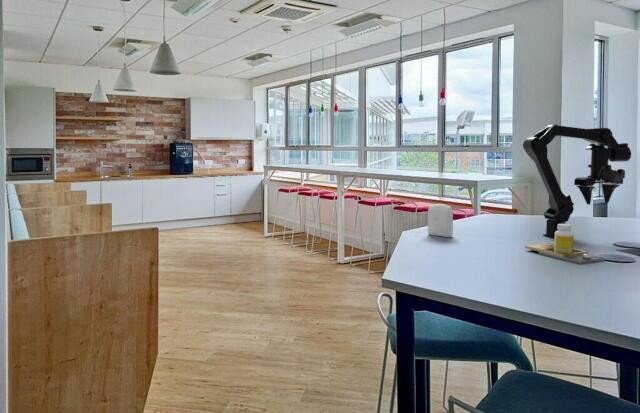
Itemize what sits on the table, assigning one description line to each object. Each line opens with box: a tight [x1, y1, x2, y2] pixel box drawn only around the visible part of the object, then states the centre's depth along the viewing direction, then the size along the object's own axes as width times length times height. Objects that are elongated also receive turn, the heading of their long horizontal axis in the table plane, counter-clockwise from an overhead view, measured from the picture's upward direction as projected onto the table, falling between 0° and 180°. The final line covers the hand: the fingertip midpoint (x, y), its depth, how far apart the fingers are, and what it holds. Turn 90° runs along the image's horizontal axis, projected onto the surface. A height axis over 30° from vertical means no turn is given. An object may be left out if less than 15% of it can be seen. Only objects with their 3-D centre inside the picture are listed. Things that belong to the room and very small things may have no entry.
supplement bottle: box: [553, 223, 574, 254], centre depth 167 cm, size 5×5×10 cm
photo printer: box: [427, 203, 454, 238], centre depth 205 cm, size 10×4×12 cm, turn 39°
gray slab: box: [524, 242, 606, 265], centre depth 167 cm, size 22×10×2 cm, turn 22°
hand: (597, 203), depth 199 cm, fingers open, 9 cm apart
